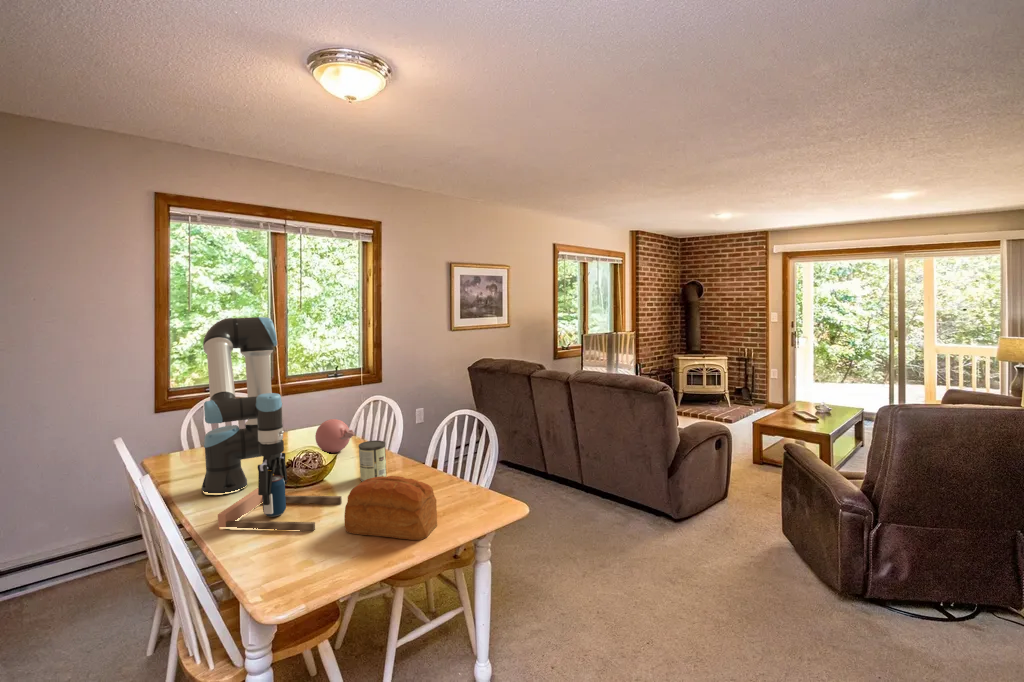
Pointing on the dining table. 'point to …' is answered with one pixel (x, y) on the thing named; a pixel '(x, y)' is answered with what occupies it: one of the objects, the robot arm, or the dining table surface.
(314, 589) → the dining table surface
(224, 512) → the end stop
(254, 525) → the walnut lane
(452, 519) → the dining table surface
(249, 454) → the robot arm
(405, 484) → the bread
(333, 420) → the pink party balloon
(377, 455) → the coffee can
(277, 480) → the soda can
